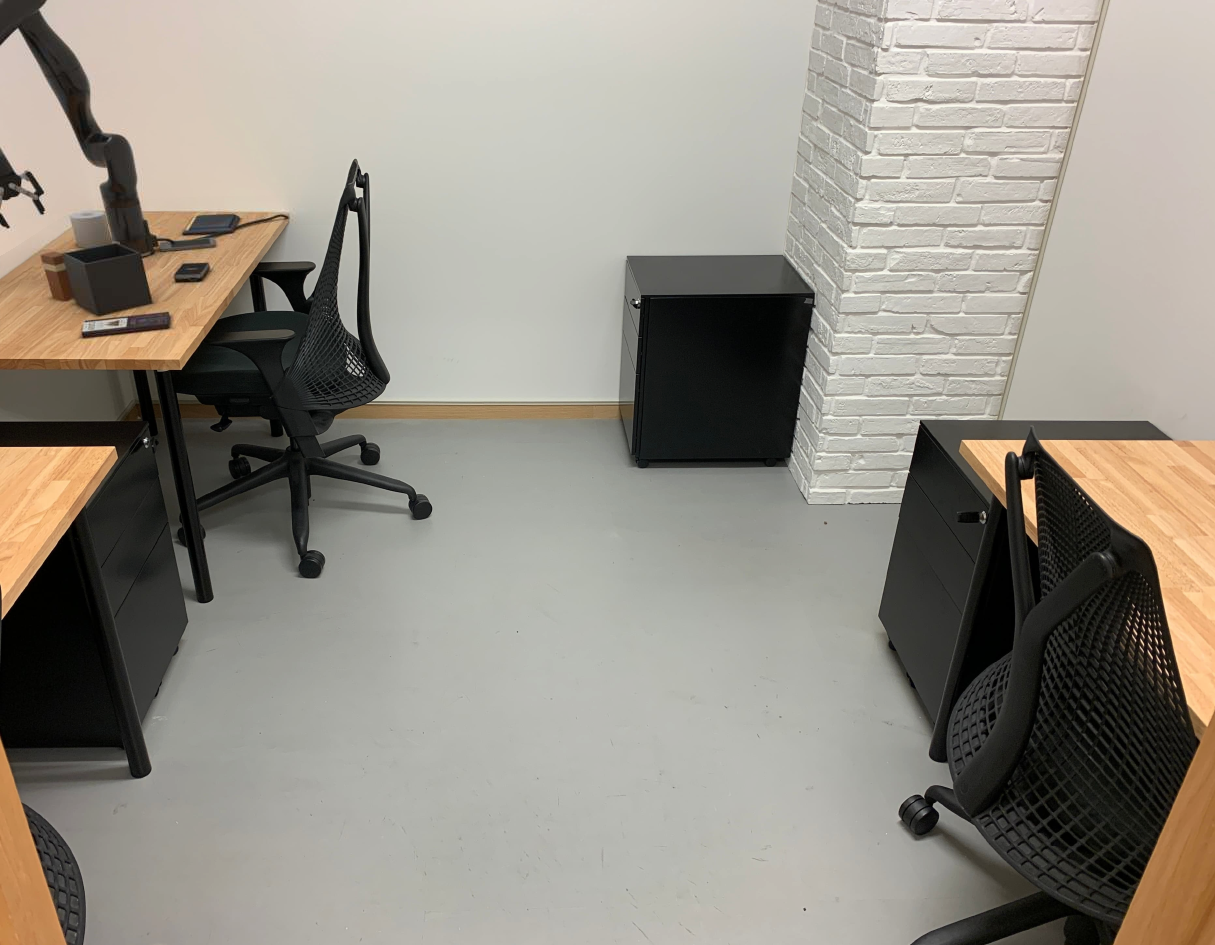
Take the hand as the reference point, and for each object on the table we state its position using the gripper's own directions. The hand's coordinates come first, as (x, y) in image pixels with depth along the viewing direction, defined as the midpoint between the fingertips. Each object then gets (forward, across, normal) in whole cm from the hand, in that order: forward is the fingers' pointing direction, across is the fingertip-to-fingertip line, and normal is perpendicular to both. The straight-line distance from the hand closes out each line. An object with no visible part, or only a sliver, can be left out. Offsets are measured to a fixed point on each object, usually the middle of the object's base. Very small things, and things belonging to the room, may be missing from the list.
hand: (25, 220), depth 232 cm
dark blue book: (+30, +50, +34) cm, 67 cm away
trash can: (+19, +5, -25) cm, 32 cm away
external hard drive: (+25, +27, -14) cm, 40 cm away
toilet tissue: (+21, +17, +36) cm, 46 cm away
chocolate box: (+17, -3, -12) cm, 21 cm away
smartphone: (+27, +36, +16) cm, 48 cm away
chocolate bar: (+19, +3, -44) cm, 48 cm away
